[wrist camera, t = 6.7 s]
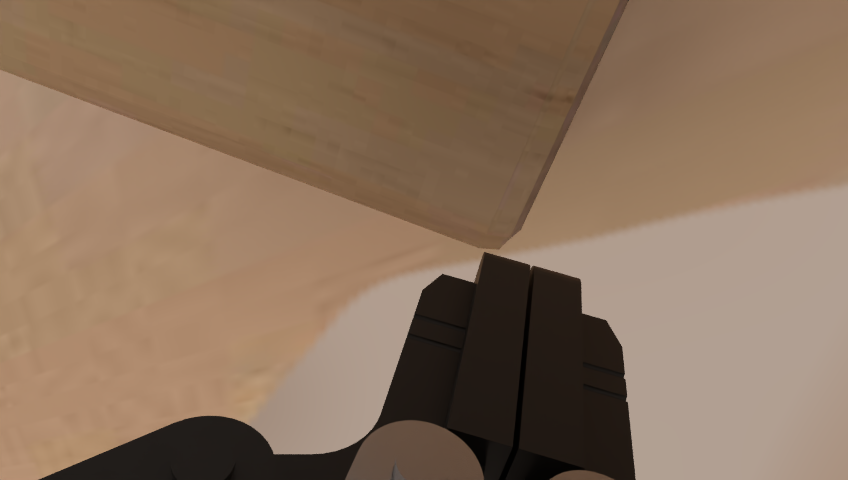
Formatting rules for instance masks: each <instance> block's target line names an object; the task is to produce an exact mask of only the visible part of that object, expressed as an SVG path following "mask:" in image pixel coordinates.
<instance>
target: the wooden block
mask: <svg viewBox="0 0 848 480" xmlns="http://www.w3.org/2000/svg"><path fill="white" fill-rule="evenodd" d="M628 1H629V0H0V70H3V71H5V72H8V73H11V74H14V75H16V76H19V77H22V78H24V79H27V80H30V81H32V82H35V83H38V84H40V85H43V86H46V87H48V88H51V89H54V90H56V91H59V92H62V93H64V94H67V95H70V96H73V97H75V98H78V99H81V100H83V101H86V102H89V103H91V104H94V105H97V106H99V107H102V108H105V109H107V110H110V111H113V112H115V113H118V114H121V115H124V116H126V117H129V118H132V119H134V120H137V121H140V122H142V123H145V124H148V125H150V126H153V127H156V128H158V129H161V130H164V131H166V132H169V133H172V134H174V135H177V136H180V137H183V138H185V139H188V140H191V141H193V142H196V143H199V144H201V145H204V146H207V147H209V148H212V149H215V150H217V151H220V152H223V153H225V154H228V155H231V156H234V157H236V158H239V159H242V160H244V161H247V162H250V163H252V164H255V165H258V166H260V167H263V168H266V169H268V170H271V171H274V172H276V173H279V174H282V175H284V176H287V177H290V178H293V179H295V180H298V181H301V182H303V183H306V184H309V185H311V186H314V187H317V188H319V189H322V190H325V191H327V192H330V193H333V194H335V195H338V196H341V197H344V198H346V199H349V200H352V201H354V202H357V203H360V204H362V205H365V206H368V207H370V208H373V209H376V210H378V211H381V212H384V213H386V214H389V215H392V216H394V217H397V218H400V219H403V220H405V221H408V222H411V223H413V224H416V225H419V226H421V227H424V228H427V229H429V230H432V231H435V232H437V233H440V234H443V235H445V236H448V237H451V238H454V239H456V240H459V241H462V242H464V243H467V244H470V245H472V246H475V247H478V248H486V249H500V248H501V247H502V246H503V245H504V244H505V243H506V242H507V241H508V240H509V239H510V238H511V237H513V236H514V235H515V234H516V233H517V232H518V231H520V230H521V228H522V226H523V224H524V222H525V220H526V217H527V215H528V213H529V211H530V209H531V207H532V205H533V203H534V200H535V198H536V196H537V194H538V192H539V190H540V188H541V186H542V183H543V181H544V179H545V177H546V175H547V173H548V171H549V169H550V166H551V164H552V162H553V160H554V158H555V156H556V154H557V151H558V149H559V147H560V145H561V143H562V141H563V139H564V137H565V134H566V132H567V130H568V128H569V126H570V124H571V122H572V120H573V117H574V115H575V113H576V111H577V109H578V107H579V105H580V103H581V100H582V98H583V96H584V94H585V92H586V90H587V88H588V86H589V83H590V81H591V79H592V77H593V75H594V73H595V71H596V69H597V66H598V64H599V62H600V60H601V58H602V56H603V54H604V52H605V49H606V47H607V45H608V43H609V41H610V39H611V37H612V35H613V32H614V30H615V28H616V26H617V24H618V22H619V20H620V18H621V15H622V13H623V11H624V9H625V7H626V5H627V3H628Z"/></svg>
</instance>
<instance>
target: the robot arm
mask: <svg viewBox="0 0 848 480" xmlns="http://www.w3.org/2000/svg"><path fill="white" fill-rule="evenodd" d="M624 374H625V371H624V361H623V351H622V346H621V344H620V343H619V341H618V339H617V338H616V336H615V335H614V333H613V331H612V329H611V328H610V326H609V325H608V323H607V321H606V320H603V319H600V318H596V317H592V316H589V315H585V314H582V303H581V281H580V279H579V278H575V277H571V276H568V275H564V274H561V273H558V272H554V271H550V270H547V269H543V268H540V267H536V266H533V267H532V268H531V270H530V265H528V264H525V263H521V262H518V261H514V260H511V259H507V258H504V257H500V256H497V255H493V254H489V253H486V252H484V254H483V256H482V259H481V262H480V265H479V269H478V272H477V275H476V278H475V282H474V283H473V282H469V281H466V280H462V279H459V278H455V277H452V276H448V275H444V274H442V275H441V276H439V277H438V278H437V279H436V280H434V281H433V282H432V283H431V284H430V285H428V286H427V287H426V288H425V289H423V290H422V293H421V296H420V299H419V302H418V305H417V308H416V311H415V315H414V318H413V320H412V323H411V326H410V329H409V332H408V335H407V338H406V341H405V344H404V347H403V350H402V353H401V356H400V359H399V362H398V365H397V368H396V371H395V373H394V377H393V380H392V382H391V385H390V388H389V391H388V394H387V397H386V400H385V403H384V406H383V409H382V412H381V415H380V417H379V419H378V421H377V423H376V424H375V426H374V428H373V429H372V430H371V431H370V432H369V433H368V434H367V435H366V436H365V437H364V438H362V439H361V440H359V441H358V442H357V443H355V444H353V445H351V446H349V447H347V448H344V449H341V450H338V451H335V452H330V453H325V454H312V455H310V454H306V455H304V454H302V455H301V454H295V455H294V454H293V455H292V454H285V455H284V454H279V455H278V454H276V455H275V454H273V451H272V449H271V447H270V445H269V444H268V442H267V441H266V439H265V438H264V437H263V436H262V435H261V434H260V433H259V432H258V431H256V430H255V429H254V428H252V427H251V426H249V425H247V424H245V423H243V422H241V421H238V420H235V419H232V418H227V417H222V416H200V417H194V418H189V419H184V420H182V421H179V422H176V423H173V424H171V425H168V426H166V427H163V428H161V429H159V430H156V431H154V432H152V433H149V434H147V435H144V436H142V437H140V438H137V439H135V440H132V441H130V442H128V443H125V444H123V445H120V446H118V447H116V448H113V449H111V450H109V451H106V452H104V453H101V454H99V455H97V456H94V457H92V458H89V459H87V460H85V461H82V462H80V463H78V464H75V465H73V466H70V467H68V468H66V469H63V470H61V471H58V472H56V473H54V474H51V475H49V476H46V477H44V478H42V479H39V480H636V479H635V469H634V459H633V450H632V440H631V430H630V420H629V410H628V402H626V398H627V390H626V382H625V379H624Z"/></svg>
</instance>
